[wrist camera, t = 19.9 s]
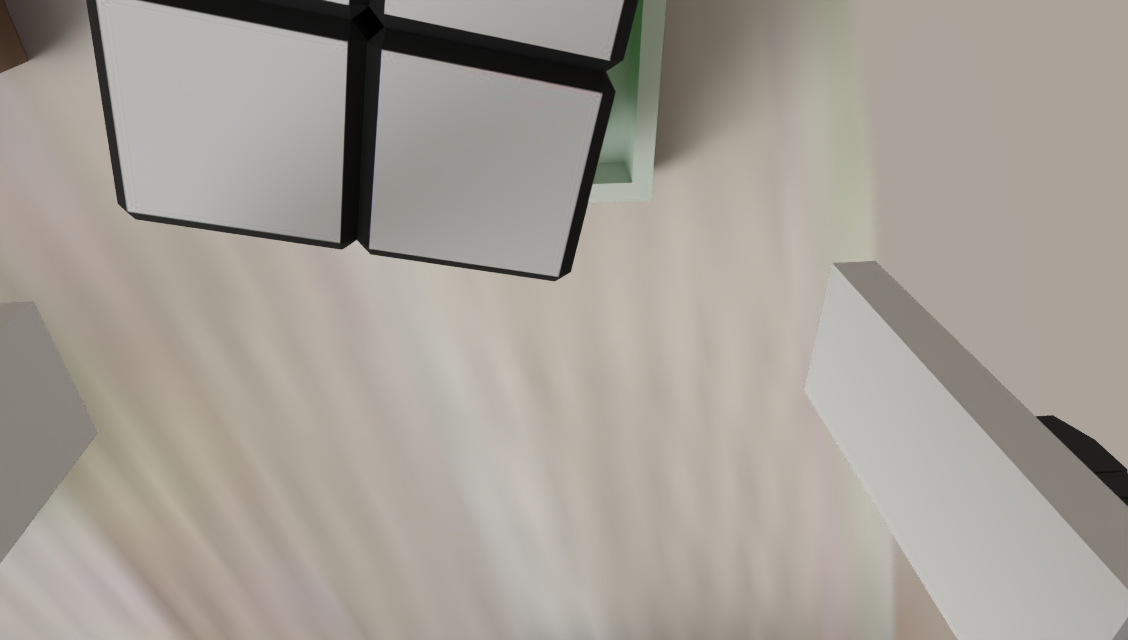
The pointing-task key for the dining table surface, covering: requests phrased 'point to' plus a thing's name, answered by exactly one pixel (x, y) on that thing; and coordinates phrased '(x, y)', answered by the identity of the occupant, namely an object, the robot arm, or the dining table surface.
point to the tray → (633, 112)
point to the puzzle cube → (365, 121)
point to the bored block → (9, 42)
